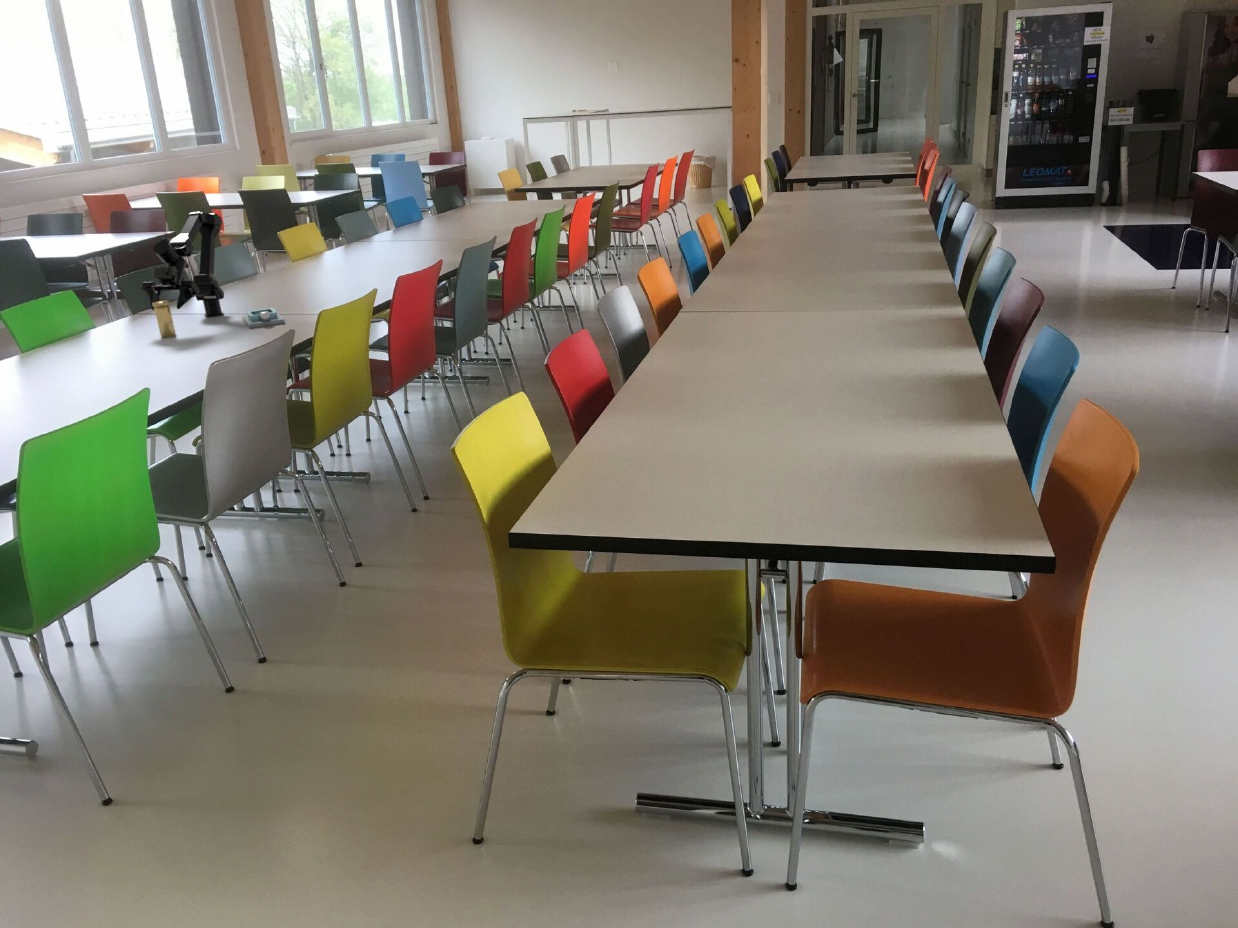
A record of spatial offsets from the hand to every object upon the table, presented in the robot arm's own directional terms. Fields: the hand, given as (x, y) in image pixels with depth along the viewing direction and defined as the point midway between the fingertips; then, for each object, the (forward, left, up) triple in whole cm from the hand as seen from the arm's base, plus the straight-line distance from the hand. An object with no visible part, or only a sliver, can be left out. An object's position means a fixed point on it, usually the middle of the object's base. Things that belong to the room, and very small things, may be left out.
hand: (165, 309), depth 332 cm
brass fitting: (+2, -1, -9) cm, 9 cm away
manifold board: (+1, +31, -9) cm, 32 cm away
